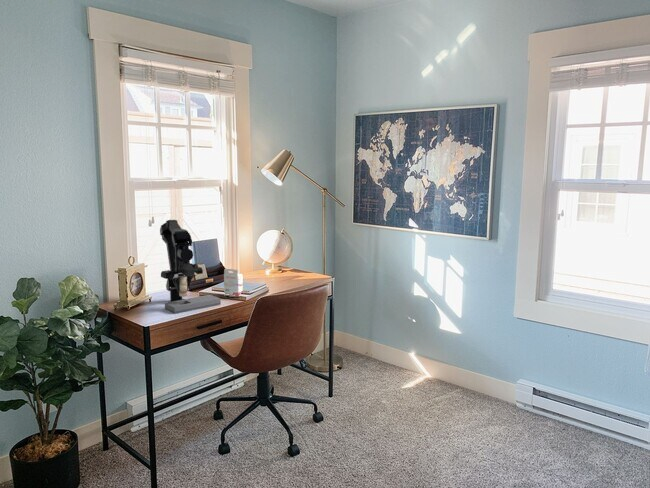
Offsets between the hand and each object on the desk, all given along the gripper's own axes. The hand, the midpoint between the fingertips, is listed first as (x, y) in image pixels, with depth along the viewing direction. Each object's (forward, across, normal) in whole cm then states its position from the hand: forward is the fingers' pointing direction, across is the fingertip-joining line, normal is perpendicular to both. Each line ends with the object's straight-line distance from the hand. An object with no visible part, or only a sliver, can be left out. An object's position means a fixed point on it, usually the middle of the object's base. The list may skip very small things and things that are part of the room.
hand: (182, 290), depth 246 cm
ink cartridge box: (+9, +30, +4) cm, 32 cm away
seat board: (+9, +5, 0) cm, 10 cm away
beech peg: (+2, 0, 0) cm, 3 cm away
